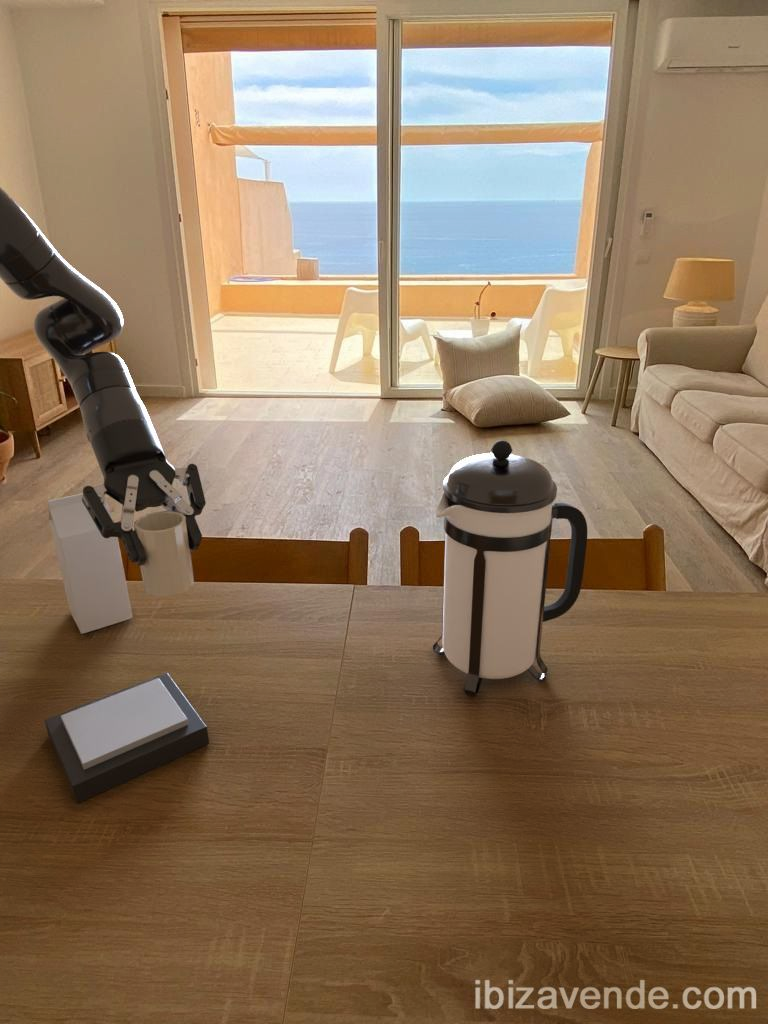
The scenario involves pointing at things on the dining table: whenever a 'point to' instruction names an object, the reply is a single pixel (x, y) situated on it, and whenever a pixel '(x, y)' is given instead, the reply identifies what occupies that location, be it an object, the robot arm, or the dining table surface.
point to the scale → (124, 735)
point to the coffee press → (501, 564)
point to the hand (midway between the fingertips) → (169, 554)
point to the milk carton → (88, 566)
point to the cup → (165, 553)
